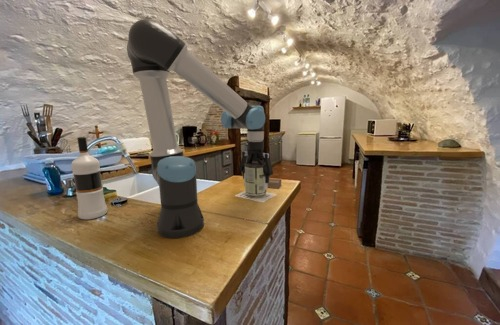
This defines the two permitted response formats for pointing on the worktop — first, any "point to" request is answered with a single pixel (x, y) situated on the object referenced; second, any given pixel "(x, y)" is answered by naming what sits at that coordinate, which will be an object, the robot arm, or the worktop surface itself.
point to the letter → (256, 198)
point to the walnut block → (274, 183)
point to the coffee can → (254, 179)
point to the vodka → (88, 184)
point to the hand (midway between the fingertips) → (255, 187)
